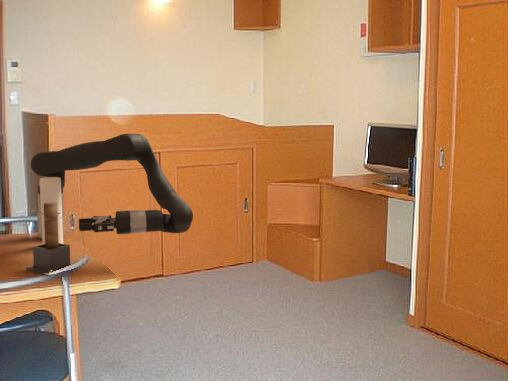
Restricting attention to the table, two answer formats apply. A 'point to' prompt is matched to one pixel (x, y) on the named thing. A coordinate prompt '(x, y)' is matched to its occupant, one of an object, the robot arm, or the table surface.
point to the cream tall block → (51, 193)
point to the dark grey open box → (50, 258)
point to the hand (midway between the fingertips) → (78, 224)
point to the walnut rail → (51, 225)
